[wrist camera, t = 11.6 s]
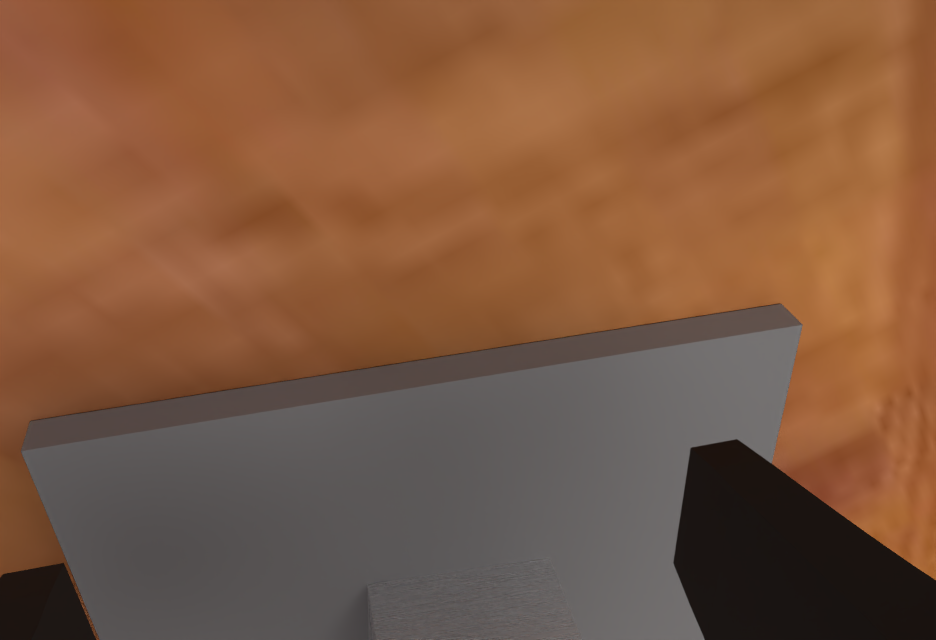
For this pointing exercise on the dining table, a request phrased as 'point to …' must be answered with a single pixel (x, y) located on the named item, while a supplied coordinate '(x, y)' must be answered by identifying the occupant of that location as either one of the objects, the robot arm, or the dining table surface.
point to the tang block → (410, 481)
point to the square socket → (473, 605)
